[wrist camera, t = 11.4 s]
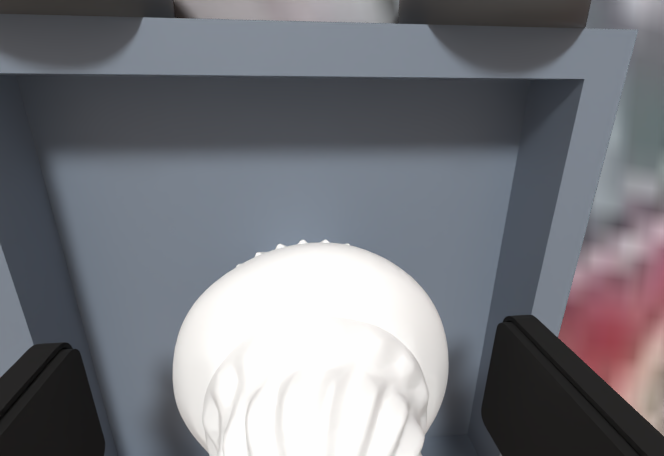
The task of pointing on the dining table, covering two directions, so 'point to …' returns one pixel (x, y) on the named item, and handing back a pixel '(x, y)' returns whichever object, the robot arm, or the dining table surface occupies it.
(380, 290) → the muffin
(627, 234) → the dining table surface
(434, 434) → the toy cart
